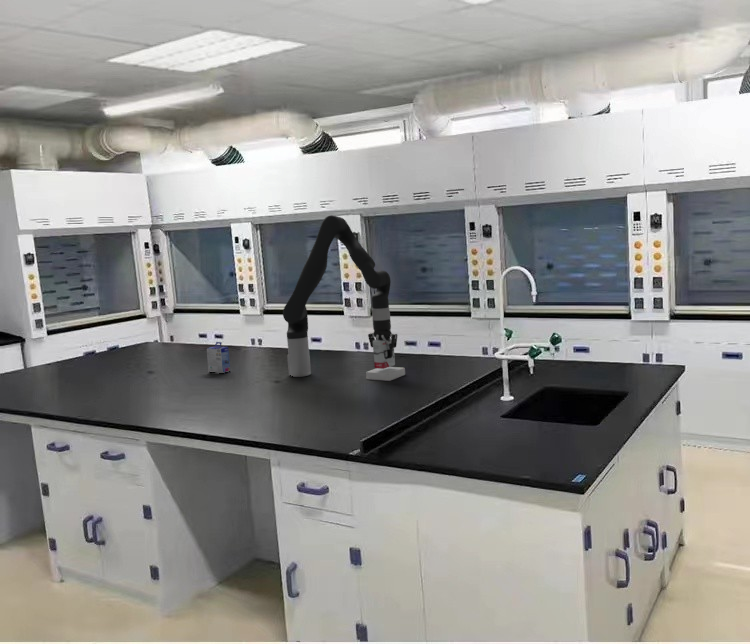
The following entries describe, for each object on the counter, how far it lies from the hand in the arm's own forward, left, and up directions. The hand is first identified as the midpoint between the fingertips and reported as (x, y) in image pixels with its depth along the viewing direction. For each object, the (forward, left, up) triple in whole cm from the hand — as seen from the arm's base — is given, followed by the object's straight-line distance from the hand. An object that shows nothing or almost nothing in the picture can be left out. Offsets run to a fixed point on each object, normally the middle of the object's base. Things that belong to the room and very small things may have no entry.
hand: (384, 357), depth 313 cm
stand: (0, 0, -8) cm, 8 cm away
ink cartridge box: (-86, -15, -9) cm, 88 cm away
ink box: (0, 0, -4) cm, 4 cm away
